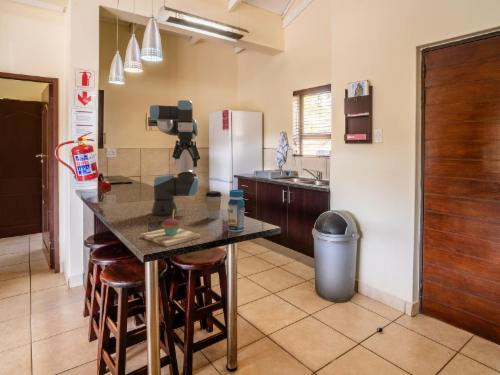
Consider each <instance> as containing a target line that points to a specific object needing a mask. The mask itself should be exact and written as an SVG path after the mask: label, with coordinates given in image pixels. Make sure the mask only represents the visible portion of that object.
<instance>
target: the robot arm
mask: <svg viewBox="0 0 500 375" xmlns="http://www.w3.org/2000/svg"><path fill="white" fill-rule="evenodd" d="M193 109H194V106H193V101H192V100H188V99H187V100H186V99H185V100H181V99H180V100H177V105H158V104H156V105H155V104H154V105H150V106H149V117H150V120H153V121H154V120H155V121H156V122H157V123H156V124H157V127H158V129H159V130H160V132H162V133H164V134H166V135H169V136H173V137H174V136H175V137H176V136H177V139H178V140H175V146H174V148H173V152H172V158H174V164H175V165H174V166H175V172H178V173H177V176H174V175H173V174H166V175H159V176H156V177H155V178H154V179H153V196H154V197H153V198H154V199H153V205H152V207H151V215H153V216H156V217H157V216H158V217H159V216H160V217H167V216H173V210H175V211H174V215H176V214H178V209H177V205H176V202H175V197H195V196H197V194H198V190H199V179H200V178H199V177H198V176H197V173H198V171H197V170H198V160H201V157H200V154H199V151H198V147H197V143H196V142H197V141H196V137H198V135H199V134H198V133H199V132H198V125H197V120H196V119H195V118H194V117H193V116H194V115H193V114H194V113H193V112H194V110H193Z"/></svg>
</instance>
